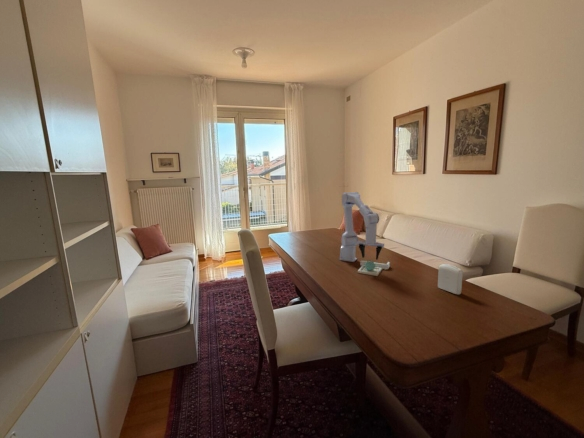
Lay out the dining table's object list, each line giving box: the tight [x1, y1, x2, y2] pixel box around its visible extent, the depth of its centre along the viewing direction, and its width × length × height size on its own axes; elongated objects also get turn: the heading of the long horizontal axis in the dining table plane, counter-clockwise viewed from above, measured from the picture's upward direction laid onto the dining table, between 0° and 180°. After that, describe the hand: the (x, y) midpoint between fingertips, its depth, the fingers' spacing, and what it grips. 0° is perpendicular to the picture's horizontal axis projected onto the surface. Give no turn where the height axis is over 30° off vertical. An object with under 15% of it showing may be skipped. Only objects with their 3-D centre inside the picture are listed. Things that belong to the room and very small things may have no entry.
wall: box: [359, 260, 391, 271], centre depth 159 cm, size 16×6×3 cm, turn 60°
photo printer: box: [437, 263, 464, 295], centre depth 123 cm, size 10×4×12 cm, turn 26°
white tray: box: [357, 265, 383, 277], centre depth 150 cm, size 11×11×1 cm
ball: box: [365, 260, 375, 271], centre depth 150 cm, size 6×6×6 cm
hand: (370, 258), depth 149 cm, fingers open, 7 cm apart
